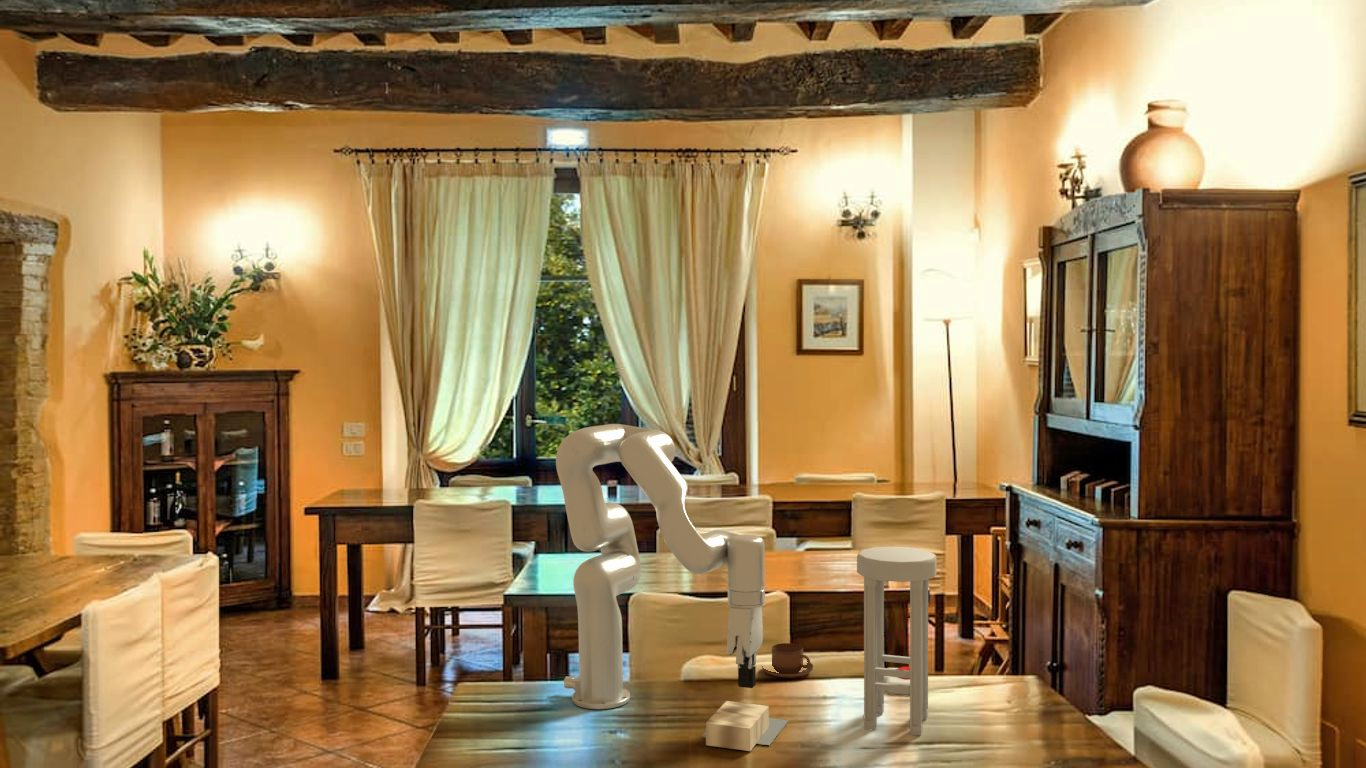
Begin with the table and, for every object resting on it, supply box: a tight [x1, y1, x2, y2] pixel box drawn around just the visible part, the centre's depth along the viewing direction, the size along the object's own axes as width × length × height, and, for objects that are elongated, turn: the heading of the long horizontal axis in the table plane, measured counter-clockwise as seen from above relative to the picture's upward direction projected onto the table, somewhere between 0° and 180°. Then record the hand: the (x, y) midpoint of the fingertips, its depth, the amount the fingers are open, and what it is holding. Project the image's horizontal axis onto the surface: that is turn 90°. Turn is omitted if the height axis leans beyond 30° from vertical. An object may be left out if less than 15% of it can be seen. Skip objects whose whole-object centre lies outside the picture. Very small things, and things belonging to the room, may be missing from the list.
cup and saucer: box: [761, 642, 814, 679], centre depth 252 cm, size 12×12×6 cm
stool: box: [856, 545, 938, 736], centre depth 219 cm, size 16×16×35 cm
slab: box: [705, 700, 770, 752], centre depth 213 cm, size 9×4×13 cm
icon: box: [884, 666, 910, 696], centre depth 243 cm, size 12×4×10 cm
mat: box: [701, 717, 789, 746], centre depth 217 cm, size 14×14×1 cm
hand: (746, 686), depth 218 cm, fingers closed
